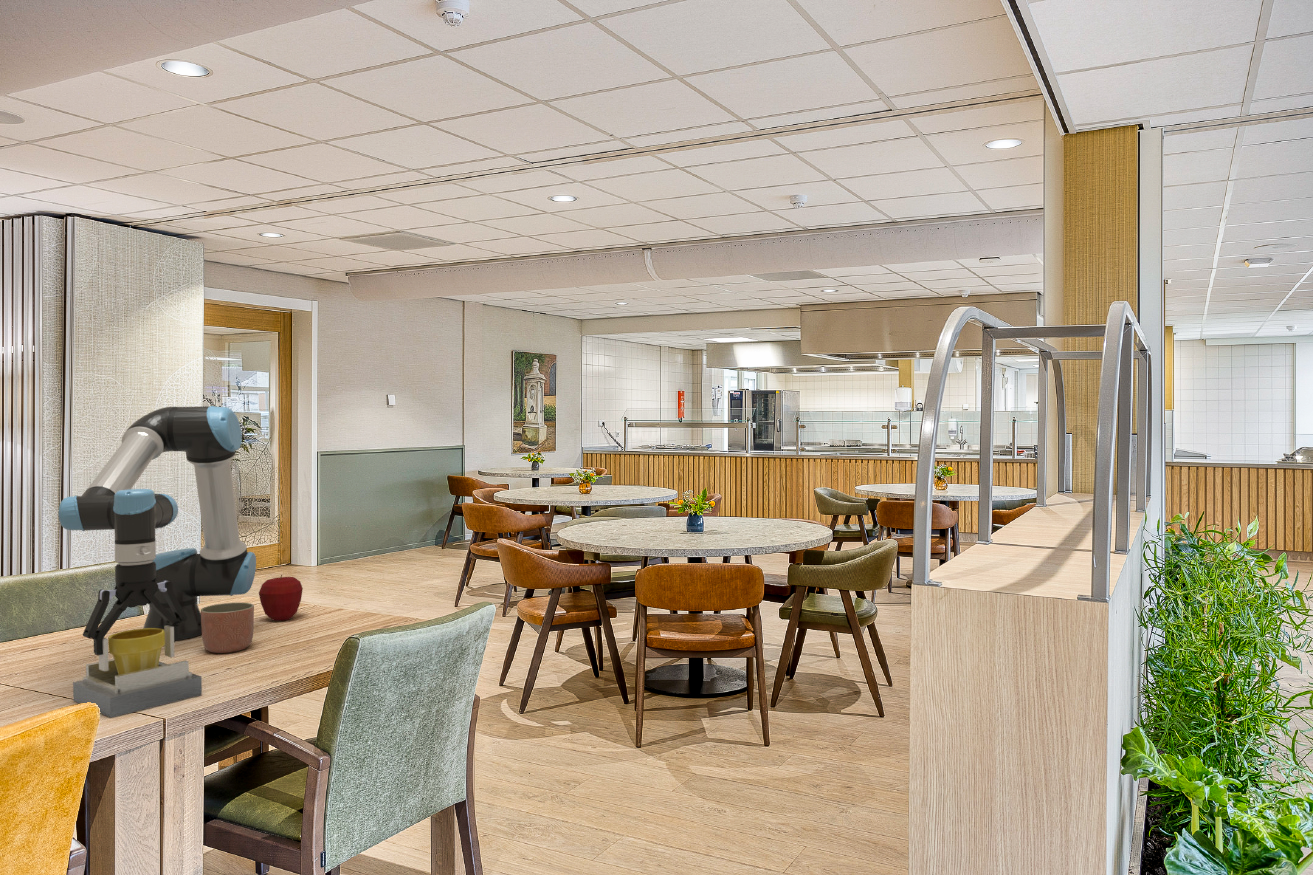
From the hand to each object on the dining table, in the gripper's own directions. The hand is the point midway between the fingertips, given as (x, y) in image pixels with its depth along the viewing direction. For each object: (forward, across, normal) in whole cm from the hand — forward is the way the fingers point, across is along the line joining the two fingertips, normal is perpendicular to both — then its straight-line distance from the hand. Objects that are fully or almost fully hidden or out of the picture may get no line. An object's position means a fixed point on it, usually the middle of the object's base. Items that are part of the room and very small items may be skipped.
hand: (137, 662), depth 190 cm
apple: (+8, +59, +45) cm, 75 cm away
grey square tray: (+8, 0, 0) cm, 8 cm away
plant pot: (+4, 0, 0) cm, 4 cm away
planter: (+8, +32, +24) cm, 41 cm away
